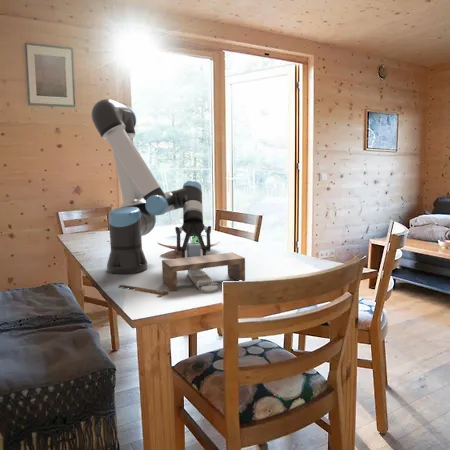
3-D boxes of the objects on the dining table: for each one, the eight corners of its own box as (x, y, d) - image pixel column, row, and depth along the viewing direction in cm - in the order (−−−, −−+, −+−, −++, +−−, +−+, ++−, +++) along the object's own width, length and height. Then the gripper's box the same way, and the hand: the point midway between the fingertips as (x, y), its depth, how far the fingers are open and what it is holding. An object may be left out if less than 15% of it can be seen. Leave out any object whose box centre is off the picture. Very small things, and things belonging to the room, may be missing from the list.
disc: (205, 294, 130) (205, 288, 130) (194, 289, 135) (194, 284, 135) (222, 290, 134) (222, 285, 133) (211, 286, 139) (211, 280, 139)
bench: (171, 291, 133) (170, 266, 132) (162, 283, 142) (161, 260, 141) (245, 281, 143) (244, 257, 142) (232, 274, 152) (232, 252, 151)
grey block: (197, 287, 137) (196, 254, 135) (186, 273, 154) (185, 243, 152) (212, 285, 138) (211, 253, 136) (199, 271, 155) (199, 242, 153)
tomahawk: (106, 295, 134) (105, 291, 134) (122, 286, 140) (121, 283, 140) (154, 303, 125) (153, 299, 124) (168, 294, 131) (168, 290, 130)
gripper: (216, 220, 165) (219, 272, 151) (170, 221, 164) (169, 273, 150) (216, 208, 159) (219, 261, 145) (168, 209, 158) (167, 262, 144)
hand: (194, 267), depth 148 cm, fingers closed on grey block, 5 cm apart
